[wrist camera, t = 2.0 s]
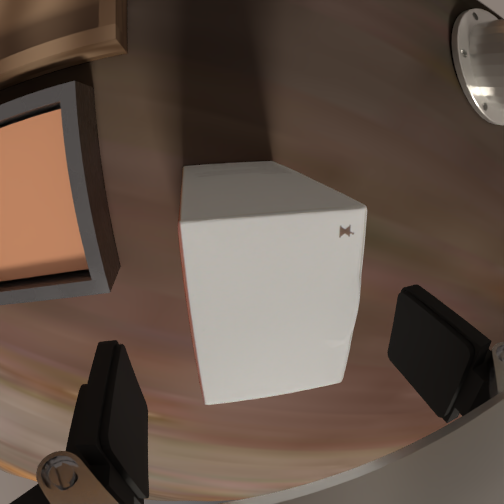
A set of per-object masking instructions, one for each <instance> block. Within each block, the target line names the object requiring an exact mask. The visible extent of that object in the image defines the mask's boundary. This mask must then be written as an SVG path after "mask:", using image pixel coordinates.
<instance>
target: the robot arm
mask: <svg viewBox="0 0 504 504" xmlns="http://www.w3.org/2000/svg"><path fill="white" fill-rule="evenodd" d="M452 55H453V60H454V65H455V69H456V73H457V76H458V79H459V82H460V84H461V87H462V89H463V92H464V93H465V95H466V97H467V99H468V101H469V103H470V104H471V105H472V107H473V108H474V110H475V111H476V112H477V113H478V114H479V115H480V116H481V117H482V118H483V119H485V120H486V121H487V122H490V123H492V124H497V125H504V19H501V20H498V19H497V18H496V17H495V16H494V15H492V14H491V13H489V12H488V11H485V10H483V9H477V8H475V9H469V10H466V11H464V12H462V13H461V14H460V15H459V16H458V17H457V19H456V21H455V23H454V26H453V31H452ZM490 344H491V340H489V339H488V338H487V337H486V336H484V335H483V334H482V333H481V332H479V331H478V330H477V329H476V328H474V327H473V326H472V325H471V324H469V323H468V322H467V321H466V320H464V319H463V318H462V317H460V316H459V315H458V314H456V313H455V312H454V311H453V310H451V309H450V308H449V307H447V306H446V305H445V304H443V303H442V302H441V301H439V300H438V299H437V298H435V297H434V296H433V295H431V294H430V293H429V292H427V291H426V290H425V289H423V288H422V287H421V286H419V285H412V286H408V287H404V288H403V289H402V290H401V293H399V295H398V299H397V305H396V311H395V317H394V322H393V328H392V333H391V338H390V343H389V348H388V357H389V359H390V361H391V362H392V363H393V364H394V365H395V367H396V368H397V369H398V370H399V371H400V372H401V373H402V375H403V376H404V377H405V378H406V379H407V380H408V382H409V383H410V384H411V385H412V386H413V387H414V389H415V390H416V391H417V392H418V393H419V395H420V396H421V397H422V398H423V399H424V400H425V402H426V403H427V404H428V405H429V406H430V408H431V409H432V410H433V411H434V412H435V414H436V415H437V416H438V417H442V418H443V419H444V420H445V422H446V423H448V422H450V421H452V420H453V419H455V418H457V417H458V415H459V413H460V414H461V415H462V417H461V418H459V419H457V420H455V421H454V422H452V423H450V424H448V425H447V426H445V427H443V428H441V429H439V430H438V431H436V432H434V433H432V434H430V435H428V436H426V437H424V438H422V439H420V440H418V441H416V442H414V443H412V444H410V445H408V446H406V447H404V448H402V449H399V450H397V451H395V452H393V453H390V454H388V455H386V456H384V457H381V458H379V459H376V460H374V461H372V462H369V463H367V464H364V465H361V466H359V467H356V468H354V469H351V470H348V471H345V472H343V473H340V474H337V475H334V476H331V477H328V478H325V479H322V480H318V481H315V482H312V483H309V484H305V485H302V486H298V487H295V488H291V489H287V490H283V491H279V492H275V493H271V494H266V495H262V496H257V497H252V498H247V499H242V500H237V501H231V502H226V503H220V504H504V342H501V343H497V344H496V345H495V346H494V347H493V349H492V351H490V350H489V346H490ZM36 478H37V481H38V484H37V485H36V486H34V487H33V488H32V489H30V490H29V491H27V492H26V493H25V494H23V495H22V496H20V497H19V498H17V499H16V500H14V501H13V502H12V503H10V504H144V498H148V497H149V481H148V409H147V404H146V401H145V399H144V396H143V394H142V392H141V389H140V386H139V384H138V381H137V379H136V376H135V373H134V371H133V368H132V365H131V363H130V360H129V357H128V354H127V351H126V348H125V346H124V345H123V344H118V342H117V341H116V340H113V341H103V342H99V343H98V346H97V349H96V353H95V357H94V360H93V364H92V368H91V372H90V376H89V380H88V384H83V385H82V386H81V388H80V390H79V394H78V398H77V402H76V406H75V410H74V414H73V419H72V423H71V428H70V432H69V437H68V442H67V447H66V451H59V452H54V453H52V454H49V455H47V456H46V457H45V458H44V459H43V460H42V461H41V462H40V464H39V465H38V468H37V472H36Z"/></svg>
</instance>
